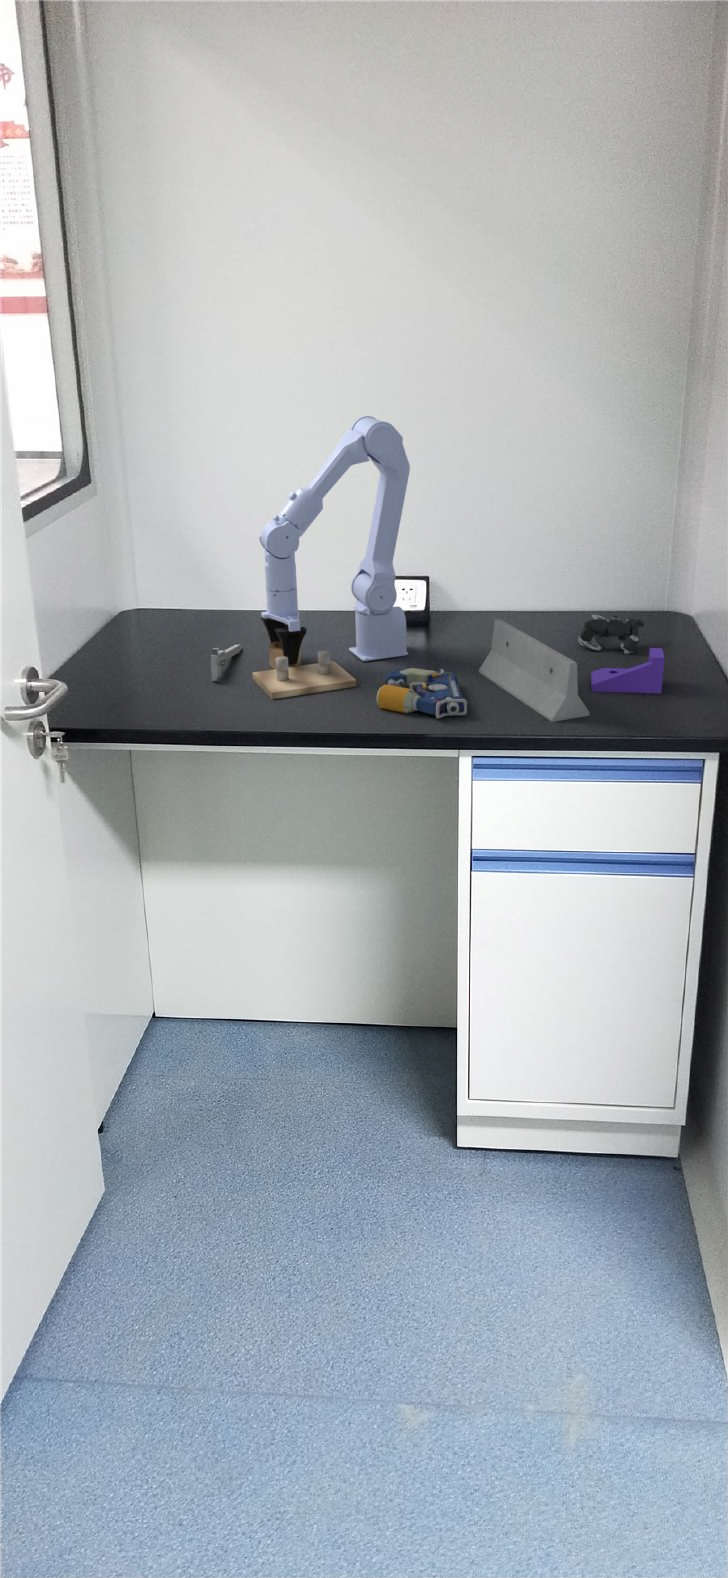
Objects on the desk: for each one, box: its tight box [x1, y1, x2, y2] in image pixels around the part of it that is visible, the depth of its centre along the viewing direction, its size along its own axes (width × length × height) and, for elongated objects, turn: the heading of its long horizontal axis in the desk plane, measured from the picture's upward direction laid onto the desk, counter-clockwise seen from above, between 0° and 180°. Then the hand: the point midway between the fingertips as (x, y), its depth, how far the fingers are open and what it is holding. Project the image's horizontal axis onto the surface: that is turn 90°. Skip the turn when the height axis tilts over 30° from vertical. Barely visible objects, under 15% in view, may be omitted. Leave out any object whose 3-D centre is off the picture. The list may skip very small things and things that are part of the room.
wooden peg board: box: [251, 650, 357, 700], centre depth 214 cm, size 16×12×5 cm
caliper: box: [210, 644, 243, 682], centre depth 225 cm, size 20×1×6 cm, turn 173°
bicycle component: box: [577, 614, 645, 655], centre depth 232 cm, size 12×7×15 cm
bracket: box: [590, 647, 665, 694], centre depth 209 cm, size 12×7×7 cm, turn 81°
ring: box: [268, 641, 302, 670], centre depth 224 cm, size 6×6×4 cm
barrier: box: [478, 618, 590, 722], centre depth 206 cm, size 28×7×10 cm, turn 21°
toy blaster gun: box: [376, 667, 468, 720], centre depth 205 cm, size 21×4×15 cm
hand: (285, 657), depth 224 cm, fingers open, 7 cm apart
